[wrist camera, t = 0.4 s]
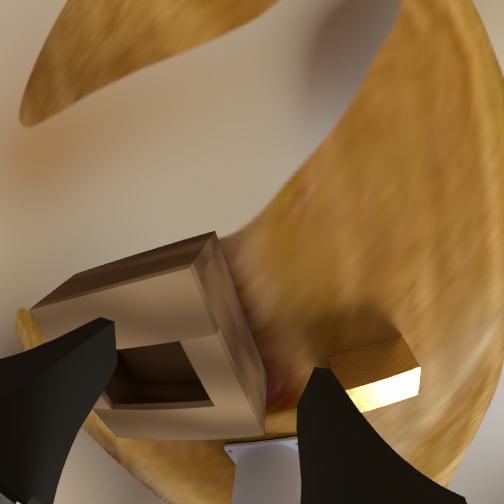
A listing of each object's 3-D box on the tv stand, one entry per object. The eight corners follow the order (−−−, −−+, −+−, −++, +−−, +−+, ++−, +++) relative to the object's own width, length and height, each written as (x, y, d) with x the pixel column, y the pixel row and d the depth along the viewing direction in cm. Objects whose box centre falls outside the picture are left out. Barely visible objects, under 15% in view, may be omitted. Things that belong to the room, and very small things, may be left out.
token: (401, 361, 21) (417, 394, 17) (333, 381, 22) (340, 417, 18) (401, 334, 20) (420, 366, 16) (328, 355, 21) (336, 392, 17)
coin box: (266, 375, 22) (264, 435, 16) (139, 389, 23) (116, 437, 18) (215, 230, 18) (189, 268, 12) (75, 273, 20) (28, 310, 14)
